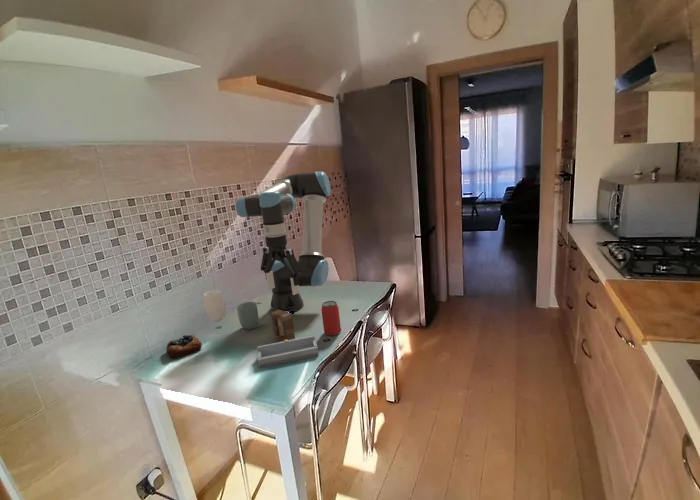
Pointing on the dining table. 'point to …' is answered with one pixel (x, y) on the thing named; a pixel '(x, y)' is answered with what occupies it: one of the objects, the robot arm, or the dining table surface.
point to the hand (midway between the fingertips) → (283, 291)
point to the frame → (282, 325)
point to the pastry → (183, 346)
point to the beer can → (331, 318)
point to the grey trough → (287, 351)
